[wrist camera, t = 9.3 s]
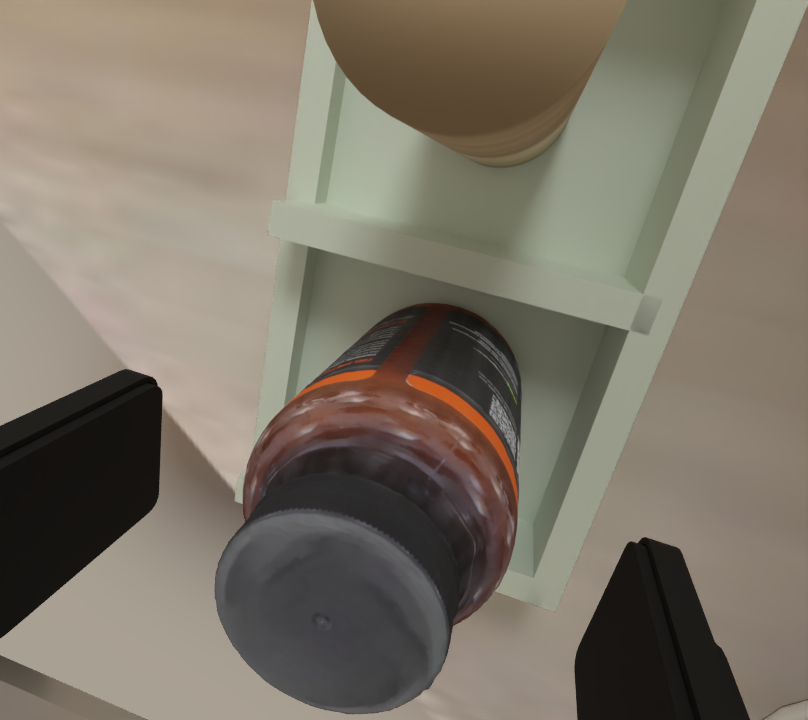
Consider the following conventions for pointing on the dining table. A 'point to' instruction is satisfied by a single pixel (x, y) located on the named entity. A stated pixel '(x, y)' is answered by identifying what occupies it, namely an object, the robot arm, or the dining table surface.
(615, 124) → the rack
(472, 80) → the beige rounded cylinder
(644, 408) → the dining table surface
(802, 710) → the decorative candle
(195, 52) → the dining table surface
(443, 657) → the supplement bottle
